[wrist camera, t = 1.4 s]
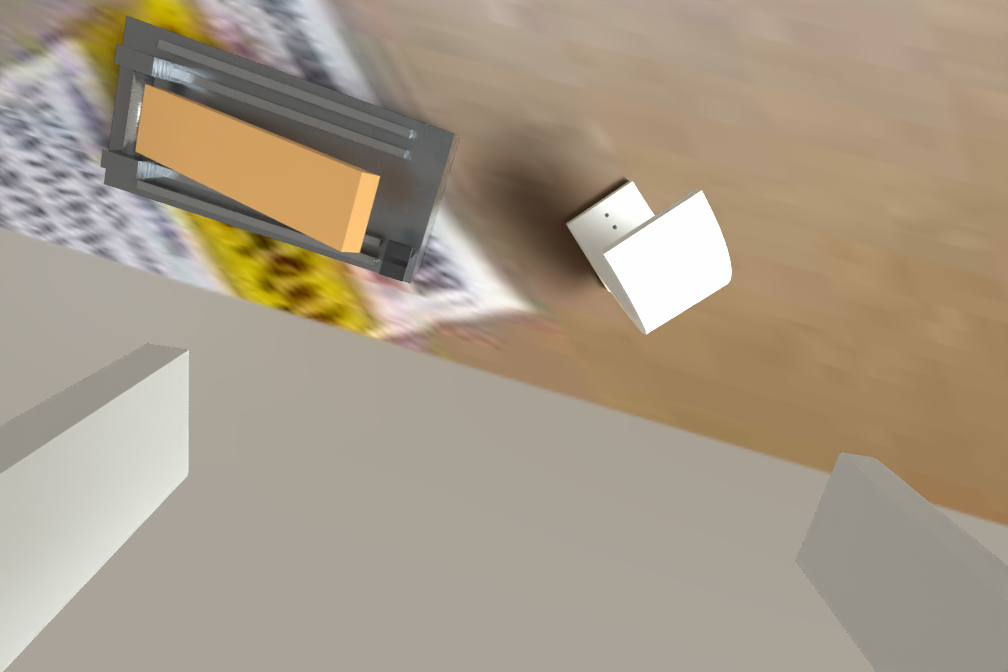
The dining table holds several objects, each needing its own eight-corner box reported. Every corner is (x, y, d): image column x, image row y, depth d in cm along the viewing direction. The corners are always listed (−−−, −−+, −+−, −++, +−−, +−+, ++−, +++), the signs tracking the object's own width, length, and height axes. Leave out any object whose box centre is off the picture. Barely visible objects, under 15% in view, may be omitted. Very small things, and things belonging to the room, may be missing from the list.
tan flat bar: (157, 155, 27) (135, 151, 26) (167, 90, 26) (145, 83, 25) (359, 252, 22) (341, 251, 21) (380, 176, 21) (362, 172, 20)
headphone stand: (629, 180, 34) (702, 189, 22) (676, 263, 35) (767, 311, 24) (564, 223, 35) (603, 254, 23) (614, 302, 36) (672, 368, 25)
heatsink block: (159, 180, 33) (67, 185, 26) (182, 38, 31) (88, 0, 24) (420, 266, 35) (403, 294, 28) (459, 138, 33) (451, 131, 26)
